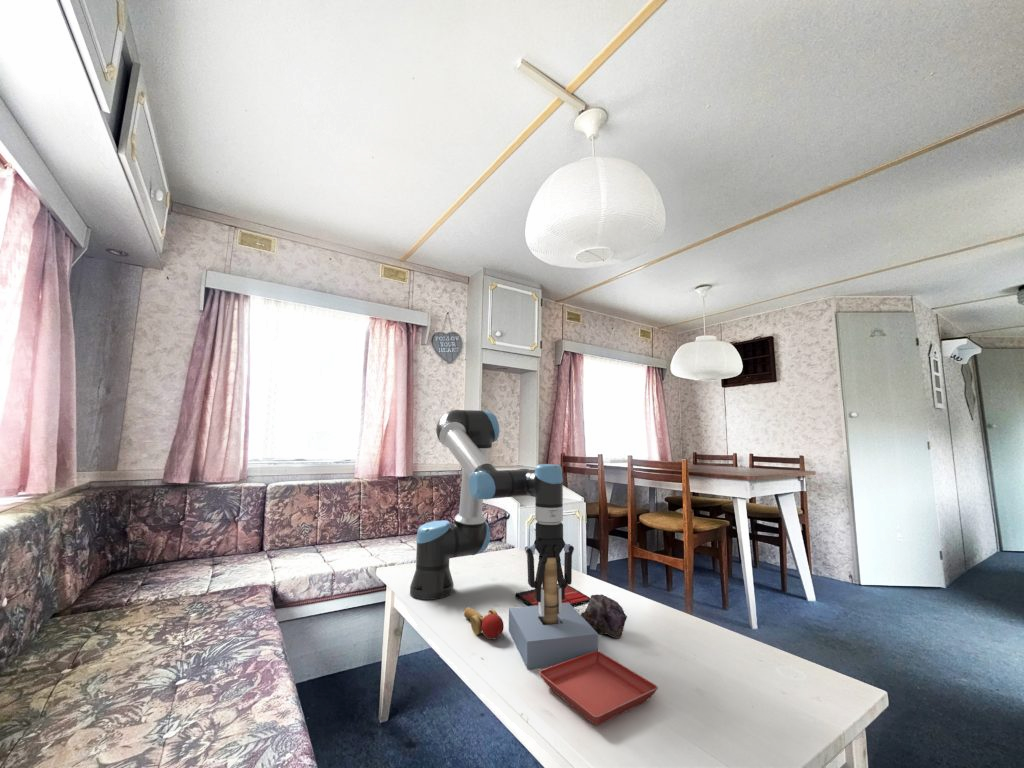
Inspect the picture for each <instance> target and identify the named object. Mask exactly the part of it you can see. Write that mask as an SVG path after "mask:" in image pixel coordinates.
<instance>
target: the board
mask: <svg viewBox="0 0 1024 768" xmlns="http://www.w3.org/2000/svg"><path fill="white" fill-rule="evenodd" d="M508 632H509V634H510V636H511V638H512V640H513V643H514V644H515V646H516V648H517V651H518V653H519V655H520V657H521V659H522V661H523V663H524V665H525V668H526V669H527V670H531V669H539V668H541V669H542V668H549V667H551V666H554V665H557V664H560V663H562V662H565V661H568V660H571V659H574V658H577V657H579V656H582V655H585V654H588V653H591V652H593V651H599V632H596V631H595V630H594V629H593V628H592V627H591V626H590V625H589V624H588V622H587V621H586V620H585V619H584V618H583V617H582V616H581V614H580V613H579V612H578V611H577V610H576V609H575V608H574V606H572V605H571V604H570V603H569V602H568V603H562V615H559V614H558V624H552V625H543V617H542V616H541V615H540V614H539V605H535V606H528V605H526V606H525V605H524V606H515V607H509V608H508Z"/></svg>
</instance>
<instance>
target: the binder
mask: <svg viewBox="0 0 1024 768" xmlns="http://www.w3.org/2000/svg"><path fill="white" fill-rule="evenodd" d="M557 585H558V586H559V584H558V583H557ZM514 598H515V599H520V598H521V599H522V600H523V601H524V602H522V603H523V604H525V605H526V606H535V605H539V602H537V601H536V599H535V588H534V589H533V588H532V589H529V590H523V591H521V592H516V593H515V597H514ZM590 598H591V596H590V597H589V596H588V595H587V594H584V593H583V592H581V591H580V590H578V589H576V588H574V587H573V586H570V585H566V588H565V599H564V600H562V603H568V602H569V603H570V604H571V605H573V606H576V605H581V604H587V603H589V600H590Z"/></svg>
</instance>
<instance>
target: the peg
mask: <svg viewBox="0 0 1024 768" xmlns="http://www.w3.org/2000/svg"><path fill="white" fill-rule="evenodd" d="M557 584H558V581H557V562H556V558H555V557H552V558H547V562H546V563H545V570H544V576H543V581H542V588H543V589H544V616H543V625H552V624H558V594H557Z"/></svg>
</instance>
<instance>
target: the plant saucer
mask: <svg viewBox="0 0 1024 768" xmlns="http://www.w3.org/2000/svg"><path fill="white" fill-rule="evenodd" d="M538 673H539V676H540V677H541V678H542V680H543V681H544V683H545V684H546V685H547V686H548V688H549V689H551V691H553V692H554V693H555V694H557V695H558V696H559V697H561V699H562V700H564V701H565V702H566V703H568V704H569V705H570V706H571V707H573V708H574V709H575V710H576V711H577V712H578V713H580V714H581V715H582V716H583V717H585V718H586V719H587V720H588V721H590V722H591V723H592V724H593V725H595V726H599V725H601V724H603V723H605V722H607V721H609V720H612V719H613V718H615V717H617V716H619V715H621V714H623V713H625V712H627V711H630V710H631V709H633V708H635V707H637V706H640V705H641V704H644V703H646V702H647V701H648V700H649V699H650V698H651V697H652V696H654V694H655V693H656V692H657V691H658V689H659V687H658V686H657V685H656V684H655V683H654V682H652V681H649V680H648V679H646V678H644V677H643V676H641V675H640V674H638V673H636V672H635V671H634V670H631V669H630V668H628V667H627V666H625V665H623V664H621V663H619V662H618V661H616V660H614V659H613V658H612V657H610V656H607V654H605V653H603V652H601V651H599V650H598V651H593V652H591V653H588V654H585V655H582V656H579V657H577V658H574V659H571V660H568V661H565V662H562V663H560V664H557V665H554V666H549V667H545V668H542V669H541V670H539V672H538Z"/></svg>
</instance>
